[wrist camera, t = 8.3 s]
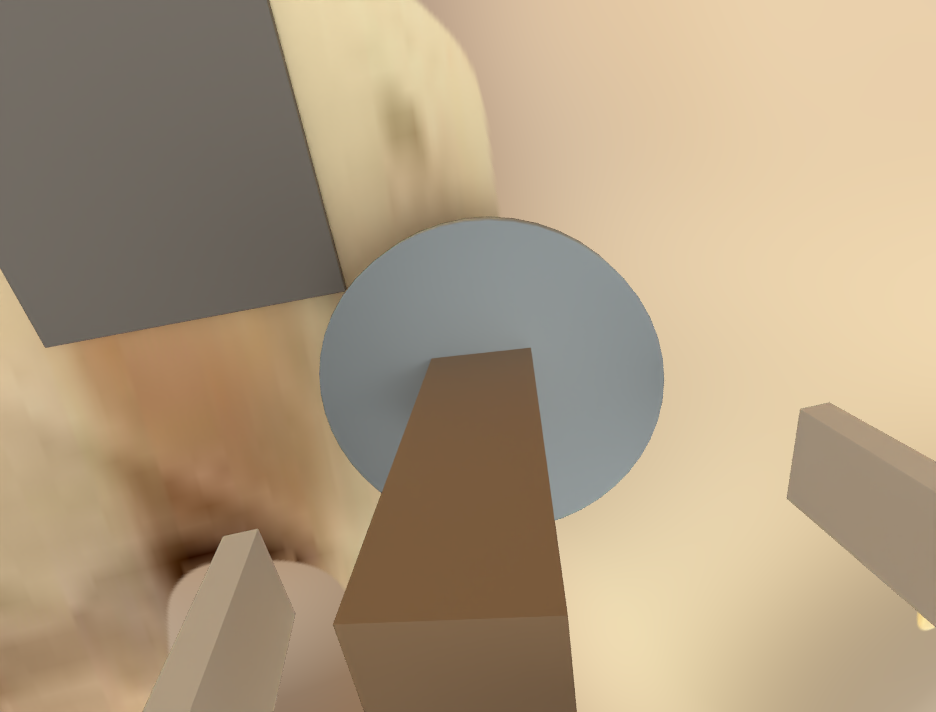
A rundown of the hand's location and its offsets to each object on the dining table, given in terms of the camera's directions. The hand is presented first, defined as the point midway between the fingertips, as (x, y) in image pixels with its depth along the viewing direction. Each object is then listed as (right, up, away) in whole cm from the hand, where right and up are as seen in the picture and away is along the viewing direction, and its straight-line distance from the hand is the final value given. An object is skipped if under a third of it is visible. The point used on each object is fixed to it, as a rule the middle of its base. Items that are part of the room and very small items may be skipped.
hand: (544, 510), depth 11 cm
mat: (-18, +13, +12) cm, 25 cm away
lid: (-1, +3, +6) cm, 7 cm away
